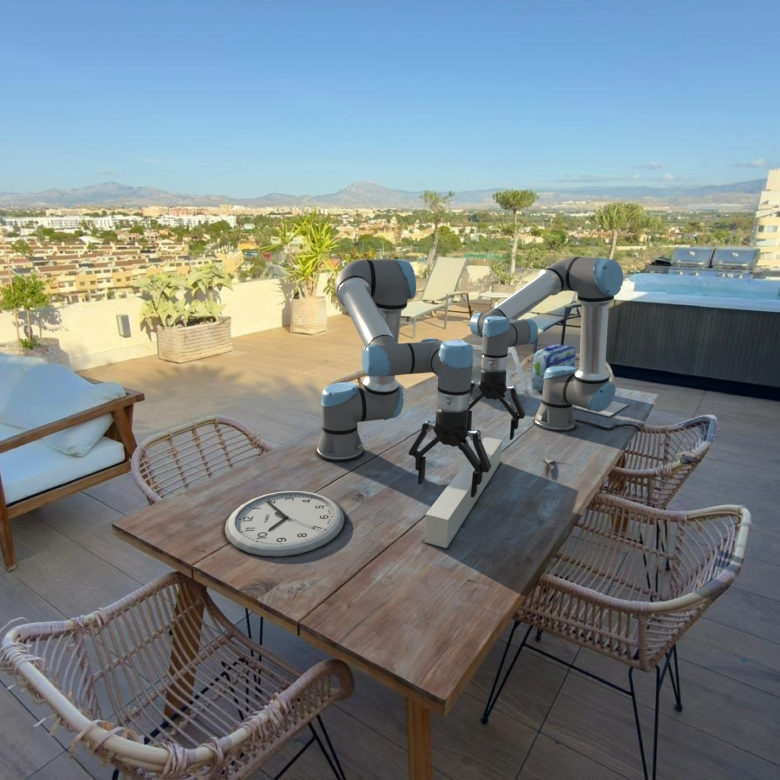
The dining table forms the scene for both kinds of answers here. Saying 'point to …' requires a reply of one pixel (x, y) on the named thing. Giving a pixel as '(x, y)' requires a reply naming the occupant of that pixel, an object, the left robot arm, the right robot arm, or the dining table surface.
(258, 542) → the wall clock
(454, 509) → the beam
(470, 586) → the dining table surface
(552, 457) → the fork
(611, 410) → the invitation card
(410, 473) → the dining table surface
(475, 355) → the white plastic object
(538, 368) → the lunch box
